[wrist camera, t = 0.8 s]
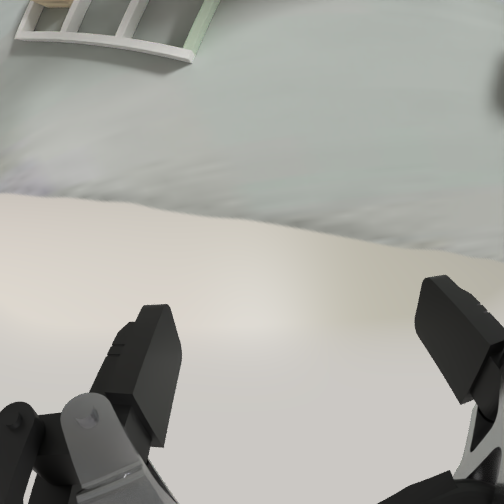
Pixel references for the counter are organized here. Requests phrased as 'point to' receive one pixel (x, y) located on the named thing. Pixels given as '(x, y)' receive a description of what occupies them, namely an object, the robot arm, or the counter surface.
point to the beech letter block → (55, 3)
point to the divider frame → (123, 33)
